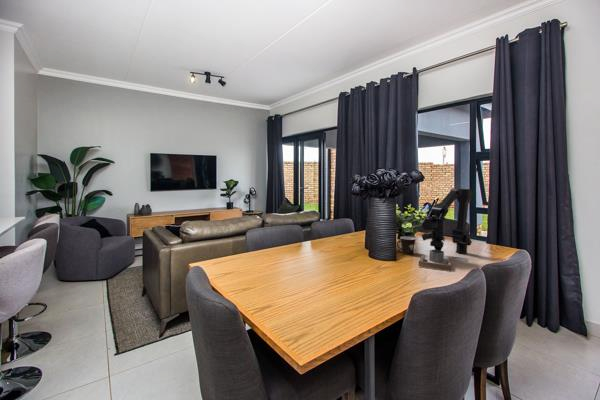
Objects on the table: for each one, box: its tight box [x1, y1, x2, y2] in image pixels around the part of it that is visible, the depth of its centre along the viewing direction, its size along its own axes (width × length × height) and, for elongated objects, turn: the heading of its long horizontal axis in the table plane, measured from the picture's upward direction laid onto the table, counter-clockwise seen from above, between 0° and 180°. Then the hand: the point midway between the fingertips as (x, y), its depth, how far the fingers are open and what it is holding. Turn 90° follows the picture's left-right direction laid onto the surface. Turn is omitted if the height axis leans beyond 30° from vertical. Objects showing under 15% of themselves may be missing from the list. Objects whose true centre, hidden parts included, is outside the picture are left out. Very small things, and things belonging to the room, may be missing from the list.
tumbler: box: [428, 249, 445, 264], centre depth 158 cm, size 7×7×6 cm
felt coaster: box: [450, 256, 469, 263], centre depth 161 cm, size 8×8×1 cm
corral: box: [418, 254, 453, 273], centre depth 152 cm, size 15×15×3 cm
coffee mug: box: [396, 236, 417, 256], centre depth 174 cm, size 12×9×10 cm
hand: (437, 255), depth 163 cm, fingers closed
